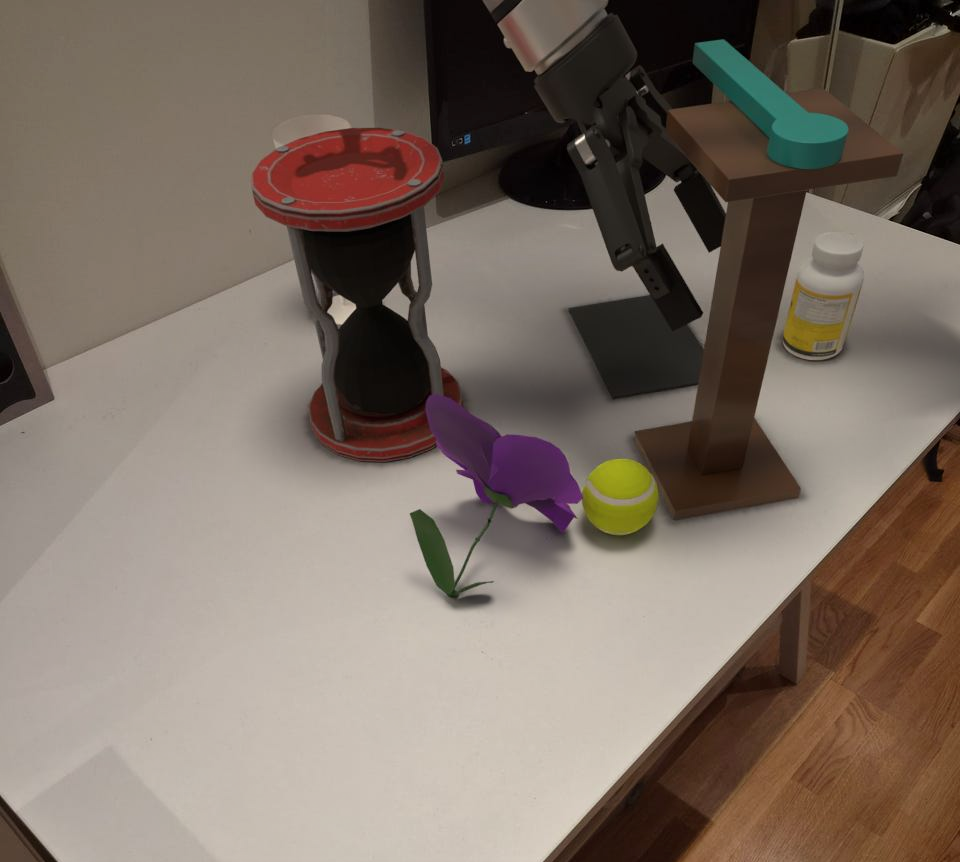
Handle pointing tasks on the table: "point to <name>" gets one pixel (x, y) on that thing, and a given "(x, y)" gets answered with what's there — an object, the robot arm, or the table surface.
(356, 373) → the hourglass
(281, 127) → the wineglass
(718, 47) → the measuring spoon
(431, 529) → the flower
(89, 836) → the table surface
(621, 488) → the tennis ball
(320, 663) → the table surface
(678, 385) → the mat
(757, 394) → the stand
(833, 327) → the pill bottle
